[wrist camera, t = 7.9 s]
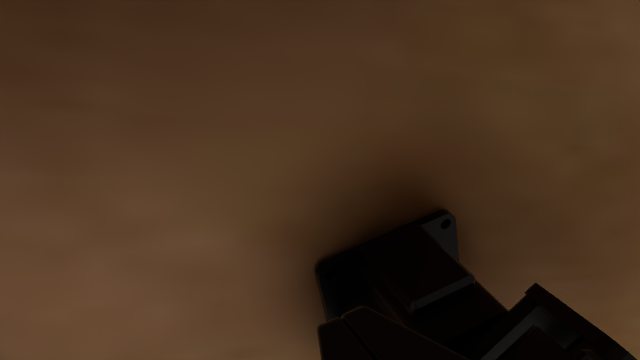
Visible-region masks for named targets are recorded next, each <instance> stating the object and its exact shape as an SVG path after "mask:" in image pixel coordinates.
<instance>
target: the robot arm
mask: <svg viewBox="0 0 640 360" xmlns="http://www.w3.org/2000/svg"><path fill="white" fill-rule="evenodd" d="M444 220H445V221H444ZM443 221H444V222H443ZM442 222H443V223H442ZM441 223H442V224H441ZM329 270H331V272H330V273H329V274H327V275H325V274H326V272H328V271H329ZM315 275H316V279H317V283H318V287H319V291H320V295H321V299H322V303H323V307H324V311H325V315H326V319H327V322H325V323H323V324H321V325H319V326H318V328H317V334H318V340H319V347H320V354H321V360H637V359H636V358H634V357H633V356H632V355H631V354H630V353H629V352H628V351H626V350H625V349H624V348H623V347H622V346H620V345H619V344H618V343H617V342H616V341H614V340H613V339H612V338H610V337H609V336H608V335H607V334H605V333H604V332H602V331H601V330H600V329H598V328H597V327H596V326H594V325H593V324H592V323H590V322H589V321H587V320H586V319H585V318H583V317H582V316H581V315H579V314H578V313H576V312H575V311H574V310H572V309H571V308H570V307H568V306H567V305H566V304H564V303H563V302H561V301H560V300H559V299H557V298H556V297H555V296H553V295H552V294H551V293H549V292H548V291H546V290H545V289H544V288H542V287H541V286H540V285H538V284H537V283H535V284H533V285H532V286H531V287H530V288H529V289H528V290H527V291H526V292H525V294H526V295H525V296H524V297H523V298H522V299H521V300H520V301H519V302H518V303H517V304H516V305H515V306H514V307H513V308H512V309H510V310H509V311H508V310H507V309H506V308H505V307H504V306H503V305H502V304H501V303H500V302H499V301H498V300H496V299H495V298H494V297H493V296H492V295H491V294H490V293H489V292H488V291H487V290H486V289H485V288H484V287H483V286H482V285H481V284H480V283H479V282H478V281H477V280H476V279H475V278H474V276H473V275H472V274H471V273H470V272H469V271H468V270H467V269H466V268H465V267H464V266H463V265H462V264H461V263H460V262H459V259H458V246H457V232H456V219H455V216H453V215H452V214H451V213H450V212H449V211H448V210H444V209H443V210H439V211H437V212H435V213H432V214H430V215H428V216H425V217H423V218H421V219H419V220H416V221H414V222H412V223H409V224H407V225H405V226H402V227H400V228H398V229H396V230H393V231H391V232H389V233H386V234H384V235H382V236H379V237H377V238H375V239H373V240H370V241H368V242H366V243H363V244H361V245H359V246H356V247H354V248H352V249H350V250H347V251H345V252H343V253H340V254H338V255H336V256H334V257H331V258H329V259H327V260H324V261H323V262H321V263H320V264H319V265H318V266H317V268H316V270H315Z"/></svg>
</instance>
